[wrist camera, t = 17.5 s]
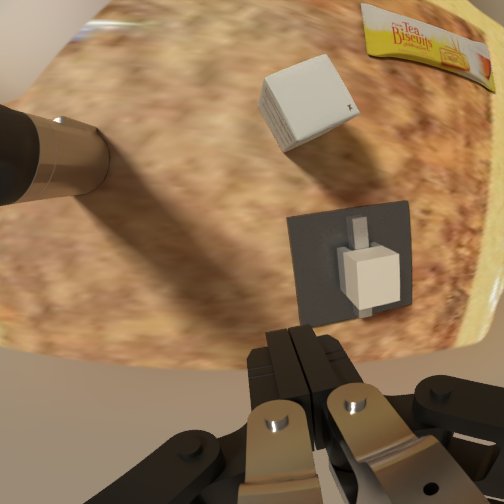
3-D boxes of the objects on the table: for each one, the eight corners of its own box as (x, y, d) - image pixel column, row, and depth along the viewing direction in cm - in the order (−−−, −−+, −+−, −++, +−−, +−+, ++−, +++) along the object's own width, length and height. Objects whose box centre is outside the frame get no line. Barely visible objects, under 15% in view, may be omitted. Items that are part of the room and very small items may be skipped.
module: (336, 248, 42) (356, 262, 35) (373, 241, 42) (399, 253, 35) (340, 289, 44) (359, 310, 36) (376, 281, 44) (399, 300, 36)
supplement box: (304, 85, 38) (328, 51, 26) (329, 132, 40) (363, 115, 28) (255, 106, 39) (262, 75, 27) (281, 154, 40) (298, 143, 28)
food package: (369, 51, 36) (362, -1, 34) (364, 56, 38) (357, 5, 36) (499, 91, 37) (490, 44, 35) (492, 93, 39) (483, 47, 37)
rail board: (286, 217, 42) (290, 220, 39) (404, 200, 42) (416, 202, 39) (300, 325, 46) (304, 336, 42) (408, 301, 46) (419, 309, 42)
